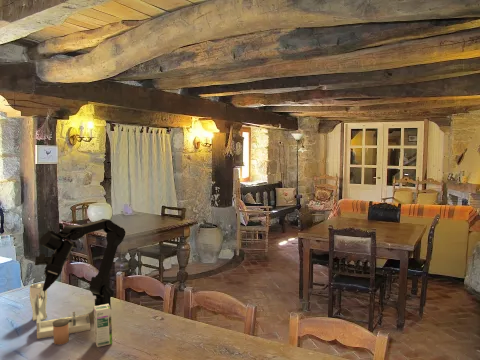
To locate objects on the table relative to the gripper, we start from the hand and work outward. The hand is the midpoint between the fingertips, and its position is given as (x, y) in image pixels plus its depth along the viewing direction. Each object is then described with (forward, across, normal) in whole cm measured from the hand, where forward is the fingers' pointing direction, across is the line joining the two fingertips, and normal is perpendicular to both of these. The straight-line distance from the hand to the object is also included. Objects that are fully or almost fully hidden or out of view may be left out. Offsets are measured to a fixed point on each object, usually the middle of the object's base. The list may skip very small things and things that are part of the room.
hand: (43, 290), depth 168 cm
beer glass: (+11, -23, +3) cm, 25 cm away
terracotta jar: (+16, +3, +14) cm, 21 cm away
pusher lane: (+11, -7, +14) cm, 19 cm away
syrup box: (+12, +12, +29) cm, 33 cm away
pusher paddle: (+9, -7, +16) cm, 20 cm away
